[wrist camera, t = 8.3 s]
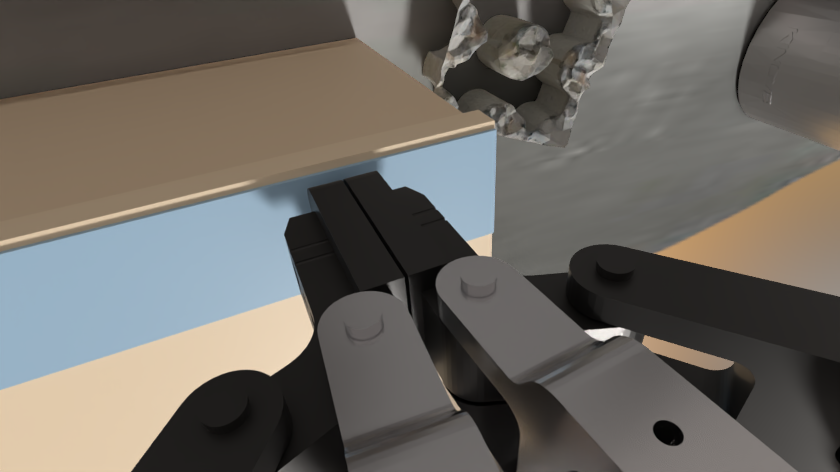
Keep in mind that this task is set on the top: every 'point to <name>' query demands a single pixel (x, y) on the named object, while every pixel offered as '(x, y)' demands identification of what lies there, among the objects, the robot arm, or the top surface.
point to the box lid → (187, 288)
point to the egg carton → (530, 65)
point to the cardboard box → (198, 121)
